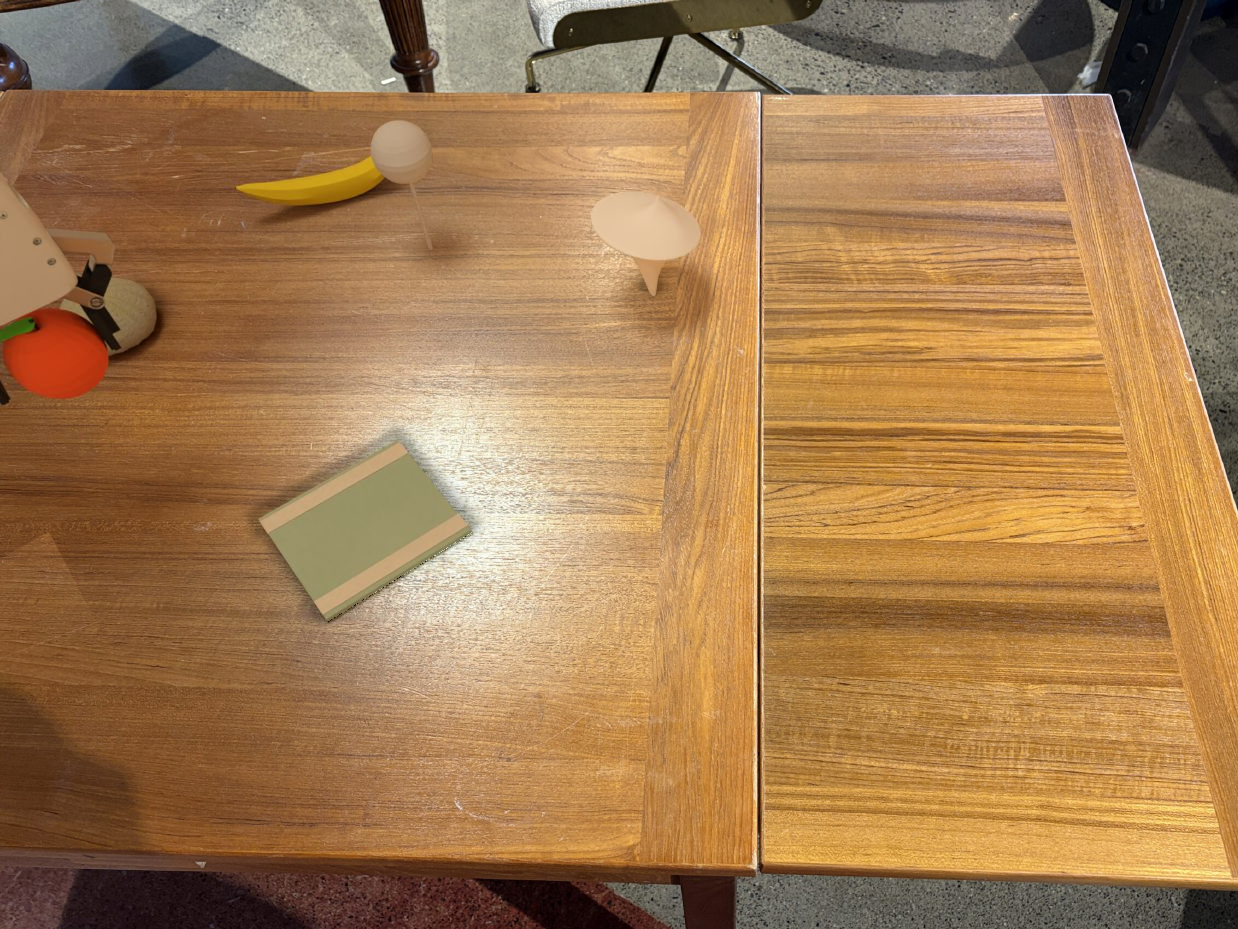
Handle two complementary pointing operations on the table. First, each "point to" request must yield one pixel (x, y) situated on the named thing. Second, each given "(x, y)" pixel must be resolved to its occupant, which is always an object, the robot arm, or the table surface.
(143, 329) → the sea urchin shell
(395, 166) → the lollipop
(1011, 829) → the table surface
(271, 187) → the banana
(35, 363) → the clementine
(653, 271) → the mushroom
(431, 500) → the towel
